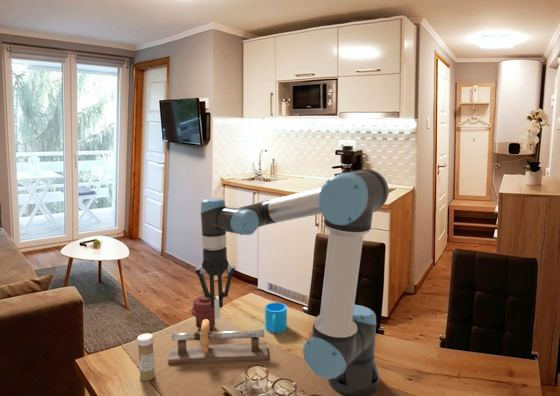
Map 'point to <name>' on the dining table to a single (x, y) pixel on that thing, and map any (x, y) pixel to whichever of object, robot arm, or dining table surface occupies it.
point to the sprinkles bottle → (146, 356)
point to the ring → (204, 336)
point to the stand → (218, 352)
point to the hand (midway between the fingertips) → (217, 316)
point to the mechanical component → (203, 312)
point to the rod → (219, 335)
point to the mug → (275, 317)
